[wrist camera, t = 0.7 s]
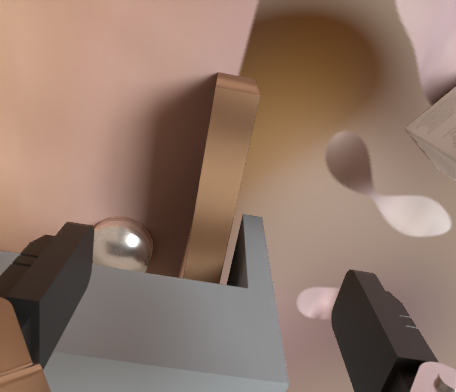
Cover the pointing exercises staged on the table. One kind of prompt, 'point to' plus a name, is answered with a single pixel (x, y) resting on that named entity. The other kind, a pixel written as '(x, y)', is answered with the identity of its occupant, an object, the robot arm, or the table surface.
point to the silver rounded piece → (122, 244)
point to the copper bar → (221, 175)
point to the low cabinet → (174, 330)
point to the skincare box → (438, 133)
